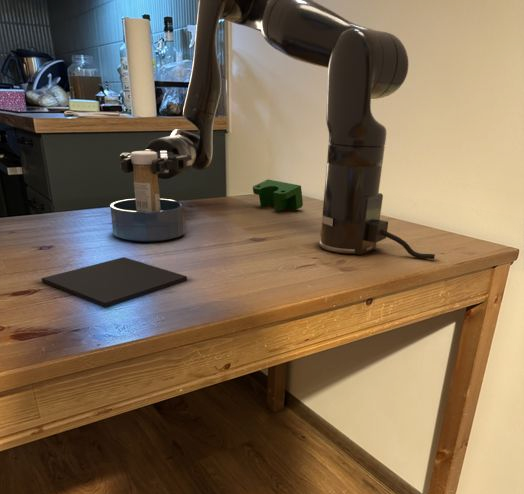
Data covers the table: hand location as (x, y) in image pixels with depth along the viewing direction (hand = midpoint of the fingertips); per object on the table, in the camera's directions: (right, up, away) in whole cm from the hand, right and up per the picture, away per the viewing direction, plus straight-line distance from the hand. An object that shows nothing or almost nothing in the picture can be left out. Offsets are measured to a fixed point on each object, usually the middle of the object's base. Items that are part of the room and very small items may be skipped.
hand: (139, 167), depth 86 cm
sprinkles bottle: (0, -9, +8) cm, 12 cm away
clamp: (+25, +2, +34) cm, 42 cm away
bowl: (0, -10, +8) cm, 13 cm away
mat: (+1, -22, -16) cm, 27 cm away
